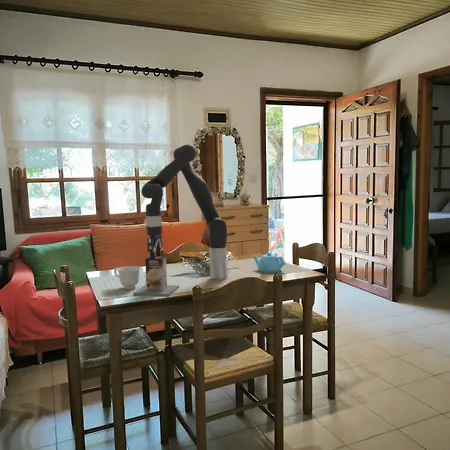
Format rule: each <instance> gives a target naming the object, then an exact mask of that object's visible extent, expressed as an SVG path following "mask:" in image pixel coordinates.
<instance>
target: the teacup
mask: <svg viewBox="0 0 450 450" xmlns="http://www.w3.org/2000/svg"><path fill="white" fill-rule="evenodd" d="M141 269H142V267H140V266H136V265H130V266H129V265H127V266H122V267H121V266H120V267H115V268H114V271H113V273H114V275H115V277H117V278H119V282H120V284H121V286H123V288H124V289H126V290H130V289H135V288H136V285H137V284H138V283H139V279H140V271H141ZM117 272H118V273H117Z"/></svg>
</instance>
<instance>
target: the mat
mask: <svg viewBox="0 0 450 450" xmlns="http://www.w3.org/2000/svg"><path fill="white" fill-rule="evenodd" d="M178 289H180V285H179V284H177V285H176V284H175V285H174V284H173V285H172V284H167V288H166V289H165V290H164V291H154V290H146V284H144V285H143V286H141V287H140V288H138V289H137V290H136V291H134V292H133V293H132V295H133V296H146V297H147V296H149V297H152V296H153V297H170V296H171V295H172V294H173V293H174V292H176V291H177V290H178Z"/></svg>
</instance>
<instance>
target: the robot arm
mask: <svg viewBox="0 0 450 450" xmlns="http://www.w3.org/2000/svg"><path fill="white" fill-rule="evenodd" d="M196 157H197V150H196V148H195V147H194V146H193V145H192V144H183V145H182V146H178V147H177V148H176V149H174V150H173V161H172V160H171V162H169V163H168V164H167V165H166V166H165V167H163V168H162V169H161V170H160V171H159V172H158V173H157V174H156V175H155V176H154V177H153V178H151V179H150V180H148V181H147V182H146V183H144V184H143V186H142V187H141V196H143V198H145V199H150V200H151V201H150V203H147V204H146V205H145V226H146V227H145V230H146V235H147V236H149V238H147V239H146V243H147V252H149V256H150V259H151V260H154V259H155V256H162V250H161V249H162V247H163V238H162V237H163V235H162V234H163V223H162V215H161V214H162V213H161V206H162V201H163V195H164V189H163V188H166V187H167V186H168V185H169V184H170V183H171V181H172V180H173V179H174V178H175V177H176V176H177V175H178V174H179V173H180V172H181V174H182V175H183V177H184V179H185V182H186V183H187V186H188V187H189V189H190V192H191V193H192V196H193V198H194V201H195V202H196V204H197V205H198V207H199V209H200V211H201V212H202V215H203V217H204V220H205V223H206V225H207V228H208V231H209V243H208V248H209V255H208V256H209V278H210V280H219V281H221V280H226V279H228V275H229V274H228V272H229V271H228V259H227V242H228V241H227V240H228V228H227V227H228V226H227V223H226V221H225V220H224V219H222V218H221V217H220V215H219V213H218V211H217V210H216V207H215V205H214V200H213V197H212V193H211V191H210V188H209V186H208V184H207V182H206V181H205V180H204V179H203V178H202V177H201V176H200V175H199V174H198V173H197V172H195V170H194V169H193V167H192V165H191V163H192V161H194V160H195V159H196Z"/></svg>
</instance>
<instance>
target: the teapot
mask: <svg viewBox="0 0 450 450" xmlns="http://www.w3.org/2000/svg"><path fill="white" fill-rule="evenodd" d="M253 260H254V261H255V263H256V266H257V270H258V271H259V272H261V273H265V274H266V273H268V274H272V273H273V274H274V273H278V272H280V271H281V270H282V268H283V267H284V266H285V265H286V262H285V258H284V256H278V253H274V254H273V253H272V252H271V251H270V252H266V254H262V255H261V256H260V259H259V257H258V256H257V255H253Z"/></svg>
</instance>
